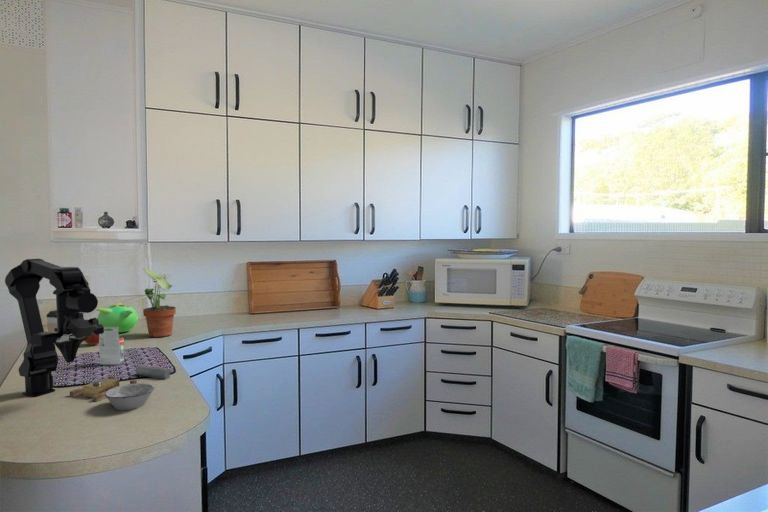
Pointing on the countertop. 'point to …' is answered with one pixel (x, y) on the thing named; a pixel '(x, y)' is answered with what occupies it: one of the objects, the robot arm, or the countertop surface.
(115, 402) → the bowl
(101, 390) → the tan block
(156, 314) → the potted plant
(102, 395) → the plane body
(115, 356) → the ink box
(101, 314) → the toy bird
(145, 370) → the bench stop
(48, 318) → the coffee cup
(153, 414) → the countertop surface
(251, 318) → the countertop surface
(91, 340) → the fruit
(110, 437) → the countertop surface
